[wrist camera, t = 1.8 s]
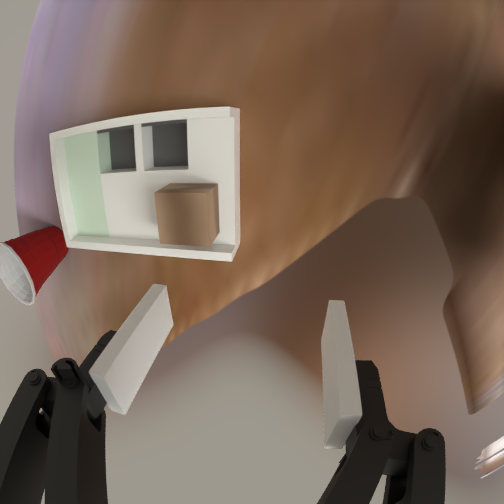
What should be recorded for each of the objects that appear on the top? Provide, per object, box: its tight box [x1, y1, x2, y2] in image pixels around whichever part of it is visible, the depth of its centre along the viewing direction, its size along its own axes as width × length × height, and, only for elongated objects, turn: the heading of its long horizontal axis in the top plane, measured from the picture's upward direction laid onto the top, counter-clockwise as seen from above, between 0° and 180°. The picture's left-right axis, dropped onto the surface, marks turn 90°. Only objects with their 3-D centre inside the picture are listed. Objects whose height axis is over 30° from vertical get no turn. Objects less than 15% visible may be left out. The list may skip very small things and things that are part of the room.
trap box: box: [49, 107, 240, 262], centre depth 31 cm, size 24×16×5 cm, turn 89°
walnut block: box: [154, 183, 220, 247], centre depth 29 cm, size 6×6×4 cm
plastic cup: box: [0, 226, 68, 306], centre depth 35 cm, size 11×11×12 cm
